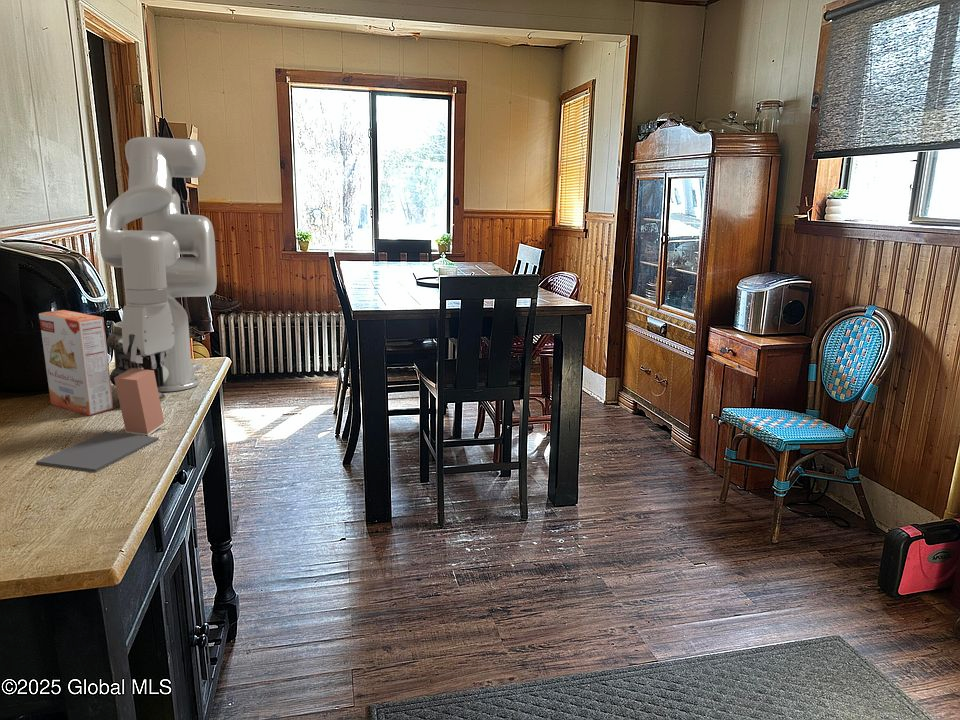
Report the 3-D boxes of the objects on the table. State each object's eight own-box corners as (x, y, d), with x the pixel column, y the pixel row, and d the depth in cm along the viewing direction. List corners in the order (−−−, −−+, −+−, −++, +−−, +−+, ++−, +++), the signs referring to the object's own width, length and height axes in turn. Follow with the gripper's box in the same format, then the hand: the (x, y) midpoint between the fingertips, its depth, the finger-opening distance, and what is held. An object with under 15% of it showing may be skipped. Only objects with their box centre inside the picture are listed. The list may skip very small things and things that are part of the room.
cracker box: (48, 405, 146) (36, 312, 141) (75, 398, 151) (65, 308, 146) (87, 417, 140) (76, 320, 134) (114, 409, 145) (105, 315, 140)
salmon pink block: (143, 421, 136) (132, 368, 131) (164, 424, 135) (154, 370, 130) (126, 433, 131) (114, 377, 127) (148, 435, 130) (136, 380, 126)
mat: (105, 433, 131) (105, 431, 130) (158, 440, 128) (158, 437, 128) (36, 464, 115) (36, 461, 115) (95, 472, 113) (95, 469, 113)
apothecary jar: (133, 410, 144) (125, 330, 140) (100, 401, 150) (92, 323, 146) (182, 397, 155) (175, 321, 150) (149, 389, 160) (142, 316, 156)
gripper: (155, 291, 138) (162, 375, 142) (102, 300, 124) (111, 394, 128) (187, 293, 137) (193, 378, 141) (137, 303, 122) (145, 398, 127)
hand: (154, 386), depth 134 cm, fingers closed
